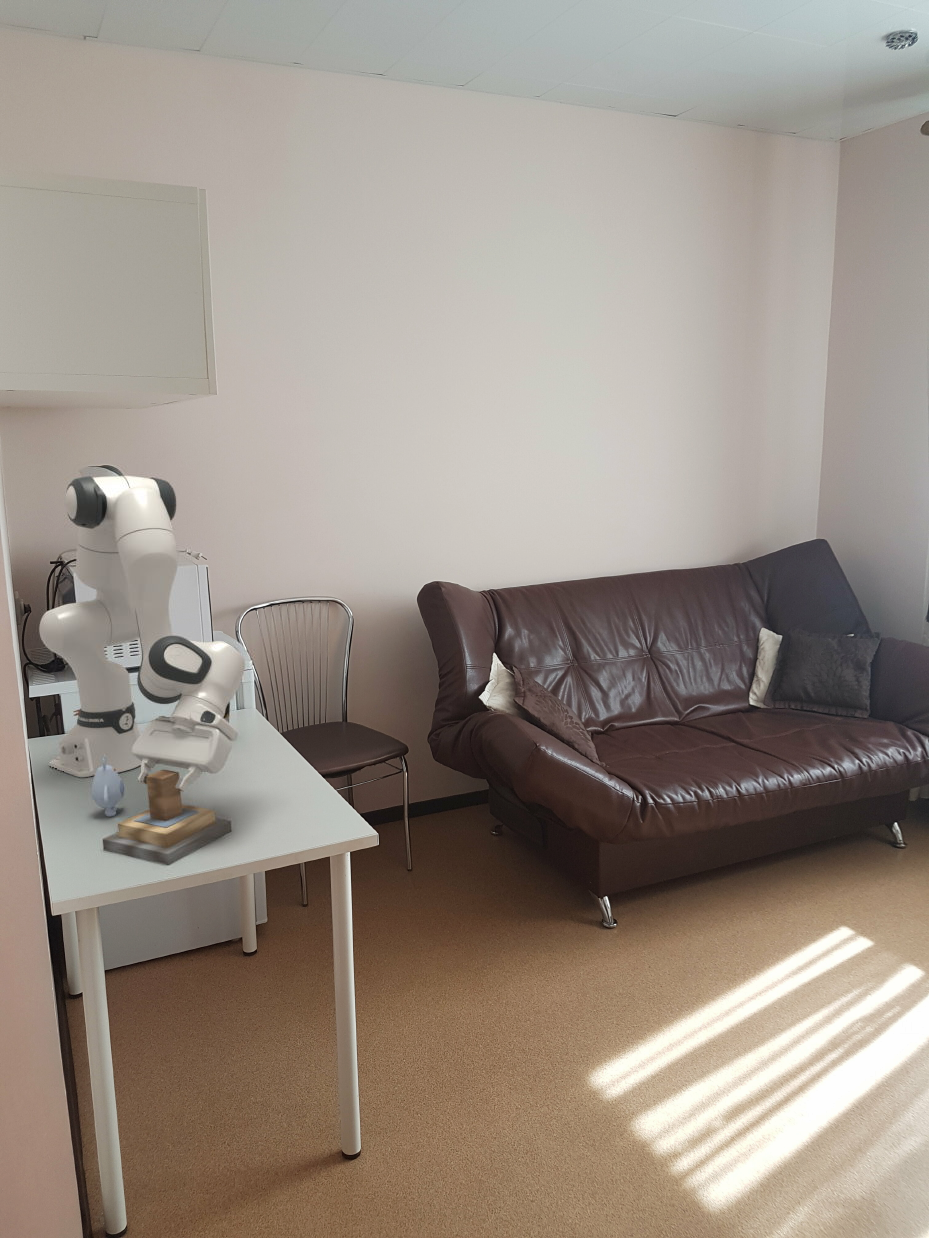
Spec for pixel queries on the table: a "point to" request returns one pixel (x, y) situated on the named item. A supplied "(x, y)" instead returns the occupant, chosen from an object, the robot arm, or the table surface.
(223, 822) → the plinth
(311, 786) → the table surface
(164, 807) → the walnut block
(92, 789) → the toy figure
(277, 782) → the table surface
